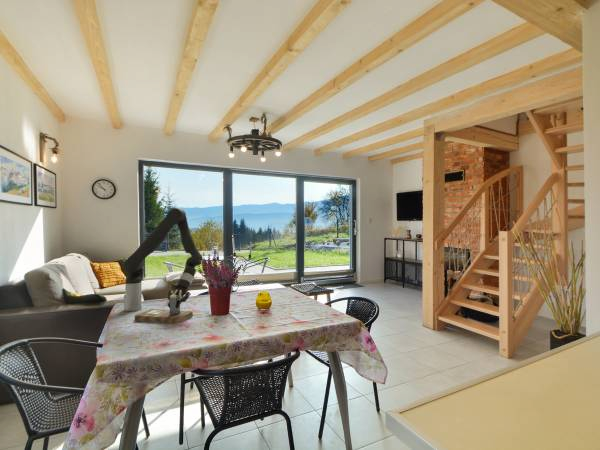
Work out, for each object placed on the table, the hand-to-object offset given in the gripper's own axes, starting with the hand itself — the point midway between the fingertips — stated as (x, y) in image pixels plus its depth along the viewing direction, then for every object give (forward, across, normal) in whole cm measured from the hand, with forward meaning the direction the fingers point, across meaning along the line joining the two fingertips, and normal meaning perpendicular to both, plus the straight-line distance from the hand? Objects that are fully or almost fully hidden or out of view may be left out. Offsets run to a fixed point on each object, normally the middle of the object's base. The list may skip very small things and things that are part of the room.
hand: (172, 307), depth 182 cm
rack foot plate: (+4, -7, +7) cm, 10 cm away
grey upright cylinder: (+3, 0, +5) cm, 6 cm away
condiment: (-22, -24, +33) cm, 46 cm away
